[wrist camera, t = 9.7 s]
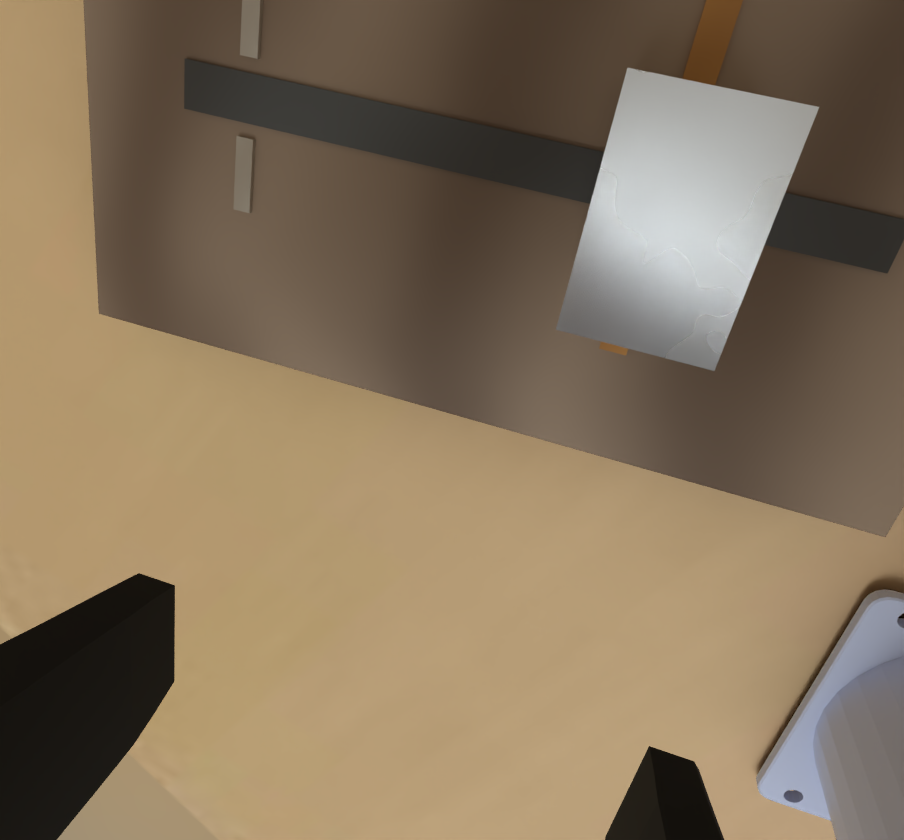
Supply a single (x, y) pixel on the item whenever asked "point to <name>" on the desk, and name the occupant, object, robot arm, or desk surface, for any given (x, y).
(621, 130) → the fader tab
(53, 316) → the desk surface
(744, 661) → the desk surface
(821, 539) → the desk surface
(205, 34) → the console board
